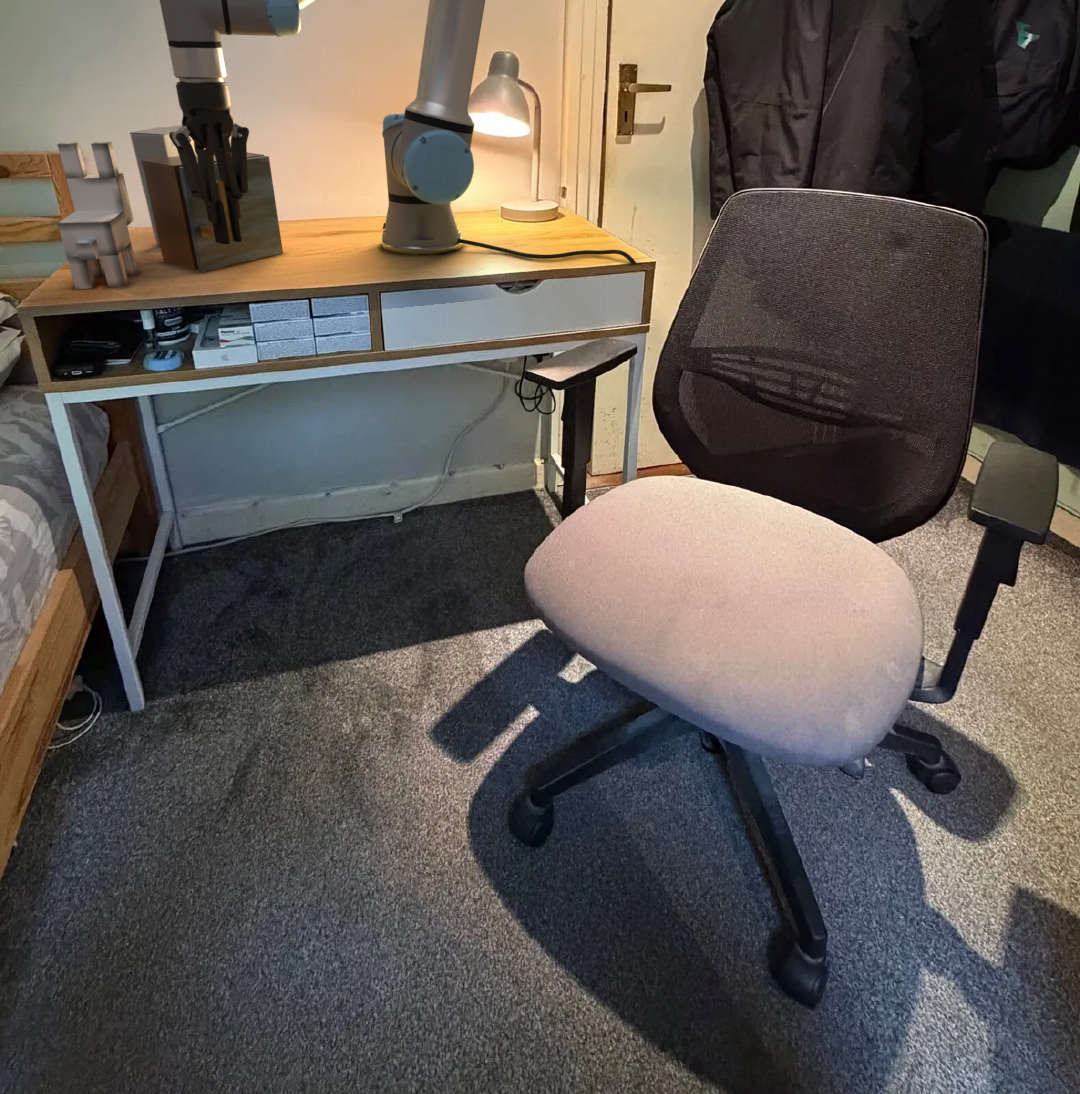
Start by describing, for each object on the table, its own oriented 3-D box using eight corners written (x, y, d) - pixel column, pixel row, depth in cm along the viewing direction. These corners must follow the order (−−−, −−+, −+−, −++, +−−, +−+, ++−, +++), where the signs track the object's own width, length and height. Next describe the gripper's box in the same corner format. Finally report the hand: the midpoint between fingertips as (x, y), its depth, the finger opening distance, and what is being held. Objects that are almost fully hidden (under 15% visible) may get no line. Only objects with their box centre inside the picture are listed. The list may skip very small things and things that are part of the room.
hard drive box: (208, 230, 174) (188, 122, 163) (239, 233, 172) (220, 124, 161) (154, 245, 162) (128, 130, 151) (186, 249, 159) (162, 132, 149)
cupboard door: (308, 258, 154) (295, 159, 145) (228, 278, 141) (209, 171, 133) (279, 252, 158) (265, 155, 149) (198, 271, 145) (178, 167, 136)
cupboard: (278, 252, 158) (264, 154, 149) (195, 271, 146) (173, 165, 137) (247, 245, 163) (231, 149, 154) (163, 262, 151) (141, 160, 142)
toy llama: (71, 293, 133) (32, 154, 123) (98, 266, 148) (66, 140, 137) (121, 291, 135) (87, 154, 124) (144, 264, 149) (115, 140, 139)
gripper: (226, 77, 135) (250, 231, 147) (142, 80, 125) (176, 246, 137) (256, 79, 131) (279, 237, 144) (173, 83, 121) (204, 252, 133)
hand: (228, 241), depth 140 cm, fingers closed on cupboard door, 2 cm apart
